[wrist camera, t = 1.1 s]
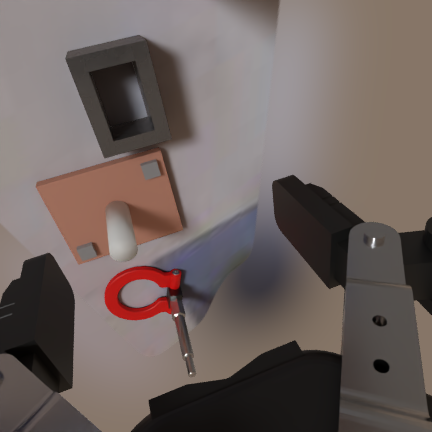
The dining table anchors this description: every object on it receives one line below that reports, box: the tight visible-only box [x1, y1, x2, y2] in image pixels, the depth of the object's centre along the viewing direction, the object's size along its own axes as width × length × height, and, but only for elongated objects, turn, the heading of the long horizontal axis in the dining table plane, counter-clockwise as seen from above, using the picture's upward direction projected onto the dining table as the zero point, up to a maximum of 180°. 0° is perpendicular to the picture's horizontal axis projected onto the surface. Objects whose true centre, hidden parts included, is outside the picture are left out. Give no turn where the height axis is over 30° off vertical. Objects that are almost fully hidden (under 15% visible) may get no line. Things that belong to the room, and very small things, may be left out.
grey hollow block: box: [65, 35, 172, 158], centre depth 29 cm, size 8×6×4 cm
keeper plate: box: [36, 147, 183, 264], centre depth 33 cm, size 10×12×8 cm
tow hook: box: [105, 266, 196, 377], centre depth 39 cm, size 8×13×9 cm
